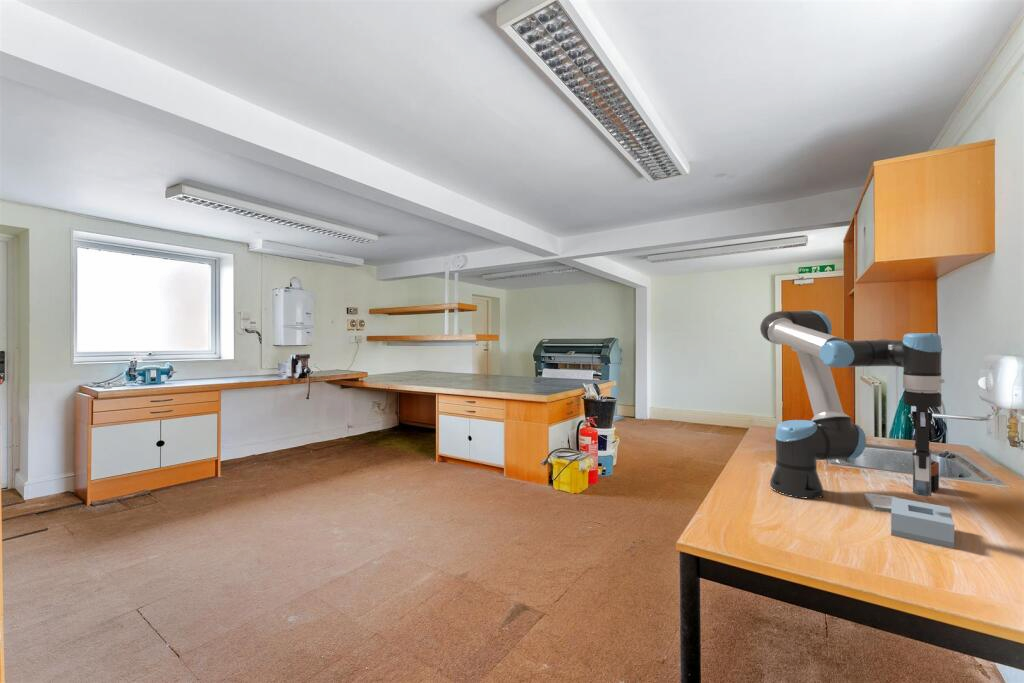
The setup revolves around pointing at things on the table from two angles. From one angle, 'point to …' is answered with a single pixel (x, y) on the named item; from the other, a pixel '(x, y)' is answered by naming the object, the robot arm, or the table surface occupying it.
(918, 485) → the pin
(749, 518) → the table surface
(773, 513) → the table surface
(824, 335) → the robot arm
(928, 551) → the table surface
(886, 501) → the external hard drive
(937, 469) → the battery
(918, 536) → the socket block
